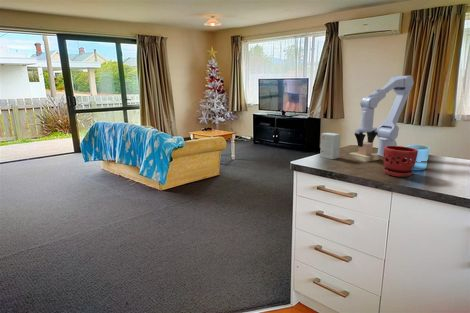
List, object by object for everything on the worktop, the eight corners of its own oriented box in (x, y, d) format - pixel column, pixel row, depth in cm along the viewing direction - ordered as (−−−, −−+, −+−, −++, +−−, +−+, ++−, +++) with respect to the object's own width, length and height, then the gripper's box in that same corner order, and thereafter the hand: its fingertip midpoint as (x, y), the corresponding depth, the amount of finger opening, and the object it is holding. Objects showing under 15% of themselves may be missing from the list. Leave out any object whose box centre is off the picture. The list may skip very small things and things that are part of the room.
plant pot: (414, 180, 129) (418, 152, 126) (380, 175, 136) (383, 149, 133) (414, 172, 140) (417, 146, 138) (382, 168, 147) (385, 143, 144)
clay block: (363, 152, 168) (364, 141, 167) (371, 154, 164) (373, 143, 163) (357, 153, 166) (358, 142, 165) (365, 155, 162) (366, 144, 160)
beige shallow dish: (362, 156, 173) (362, 150, 173) (379, 160, 164) (379, 154, 163) (348, 158, 168) (348, 153, 168) (365, 162, 159) (365, 157, 158)
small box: (339, 157, 168) (341, 134, 165) (332, 159, 164) (334, 135, 161) (326, 155, 174) (328, 132, 171) (319, 156, 170) (321, 133, 167)
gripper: (370, 118, 168) (367, 143, 171) (351, 120, 161) (349, 145, 164) (381, 120, 162) (378, 145, 165) (362, 121, 155) (360, 148, 158)
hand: (364, 145), depth 164 cm, fingers open, 7 cm apart
